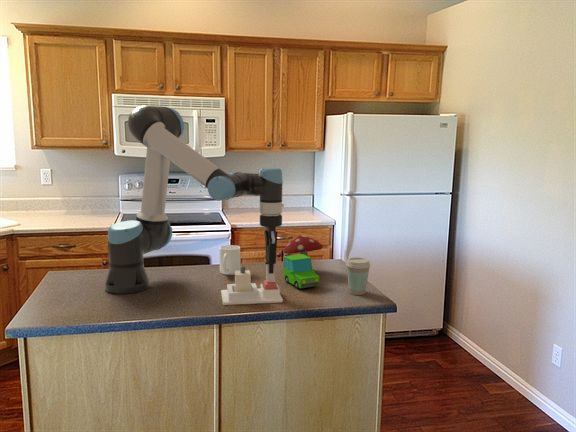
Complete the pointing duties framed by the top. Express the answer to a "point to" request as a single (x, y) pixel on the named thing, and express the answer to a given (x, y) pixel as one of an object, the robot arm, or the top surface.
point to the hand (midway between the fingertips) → (270, 281)
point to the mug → (229, 259)
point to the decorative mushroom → (302, 245)
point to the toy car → (300, 271)
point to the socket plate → (250, 295)
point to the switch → (269, 285)
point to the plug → (242, 280)
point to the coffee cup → (357, 275)
